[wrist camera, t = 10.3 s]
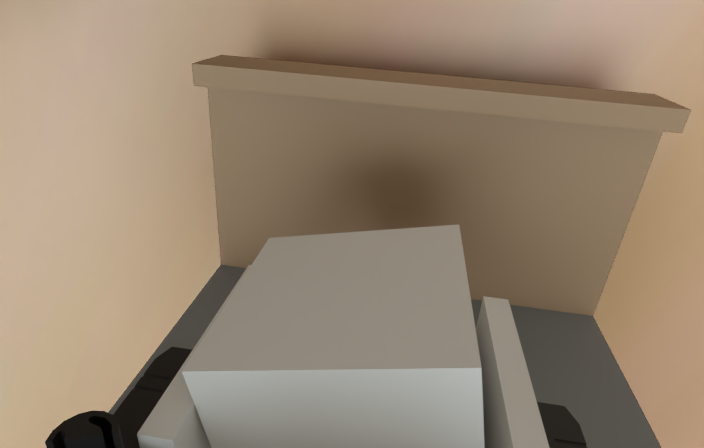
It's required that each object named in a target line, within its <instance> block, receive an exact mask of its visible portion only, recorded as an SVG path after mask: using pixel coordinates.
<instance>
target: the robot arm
mask: <svg viewBox="0 0 704 448" xmlns="http://www.w3.org/2000/svg"><path fill="white" fill-rule="evenodd" d="M250 266H251V265H248V267H247V268H246V270H245V271H244V273H243V274H242V276H241V277H240V279H239V280H238V282H237V283H236V285H235V287H234V288H233V290H232V291H231V293H230V294H229V296H228V297H227V299H226V300H225V302H224V303H223V305H222V306H221V308H220V309H219V311H218V312H217V314H216V315H215V317H214V318H213V320H212V321H211V323H210V324H209V326H208V327H207V329H206V330H205V332H204V333H203V335H202V336H201V338H200V339H199V341H198V342H197V344H196V345H195V347H194V348H193V350H191V349H185V348H178V347H171V348H169V349H168V350H166V351H165V352H164V353H162V354H161V355H159V356H158V357H157V358H155V359H154V361H153V362H152V363H151V365H150V366H149V367H148V369H147V370H146V371H145V373H144V376H143V377H141V378H140V379H139V381H138V382H137V383H136V385H135V388H134V389H132V390H131V391H130V393H129V394H128V395H127V397H126V398H125V399H124V401H123V402H122V403H121V405H120V406H119V407H118V409H117V410H116V411H115V413H114V414H113V415H112V414H109V413H107V412H105V411H89V412H85V413H81V414H78V415H76V416H74V417H72V418H70V419H68V420H66V421H64V422H63V423H62V424H60V425H59V426H58V427H57V428H56V429H54V430H53V431H52V433H51V434H50V436H49V437H48V439H47V440H46V442H45V443H46V446H47V448H212V447H211V445H210V442H209V440H208V437H207V435H206V432H205V430H204V427H203V425H202V422H201V419H200V417H199V414H198V412H197V409H196V407H195V404H194V402H193V399H192V397H191V394H190V392H189V389H188V386H187V384H186V381H185V379H184V376H183V374H182V370H183V369H184V367H185V366H186V364H187V363H188V361H189V360H190V358H191V357H192V355H193V354H194V352H195V350H196V349H197V347H198V346H199V344H200V343H201V341H202V340H203V338H204V337H205V335H206V334H207V332H208V331H209V329H210V328H211V326H212V325H213V323H214V321H215V320H216V318H217V317H218V315H219V314H220V312H221V311H222V309H223V308H224V306H225V305H226V303H227V302H228V300H229V299H230V297H231V296H232V294H233V292H234V291H235V289H236V288H237V286H238V285H239V283H240V282H241V280H242V279H243V277H244V276H245V274H246V273H247V271H248V270H249V268H250ZM476 335H477V342H478V348H479V354H480V361H481V367H482V391H483V417H484V443H485V448H587V447H586V441H585V438H584V435H583V433H582V430H581V427H580V424H579V423H578V422H577V421H576V419H575V418H574V417H573V416H572V414H571V413H570V412H569V411H568V409H567V408H566V407H565V406H561V405H554V404H548V403H542V402H537V401H536V397H535V394H534V390H533V387H532V383H531V379H530V376H529V372H528V369H527V365H526V361H525V358H524V354H523V351H522V347H521V343H520V340H519V336H518V333H517V329H516V326H515V322H514V318H513V315H512V311H511V308H510V304H509V300H508V299H501V298H493V297H486V296H483V300H482V304H481V308H480V313H479V317H478V321H477V326H476Z"/></svg>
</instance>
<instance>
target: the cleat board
mask: <svg viewBox="0 0 704 448" xmlns="http://www.w3.org/2000/svg"><path fill="white" fill-rule="evenodd" d="M192 71H193V82H194V86H203V87H208V98H209V112H210V125H211V138H212V151H213V165H214V178H215V191H216V204H217V218H218V231H219V244H220V257H221V266H220V267H219V268H218V269H217V271H216V272H215V273H214V275H213V276H212V277H211V279H210V280H209V281H208V283H207V284H206V285H205V287H204V288H203V289H202V290H201V292H200V293H199V294H198V296H197V297H196V298H195V300H194V301H193V302H192V304H191V305H190V306H189V308H188V309H187V310H186V311H185V313H184V314H183V315H182V317H181V318H180V319H179V321H178V322H177V323H176V325H175V326H174V327H173V329H172V330H171V331H170V332H169V334H168V335H167V336H166V338H165V339H164V340H163V342H162V343H161V344H160V346H159V347H158V348H157V350H156V351H155V352H154V353H153V355H152V356H151V357H150V359H149V360H148V361H147V363H146V364H145V365H144V367H143V368H142V369H141V370H140V372H139V373H138V374H137V376H136V377H135V378H134V380H133V381H132V382H131V384H130V385H129V386H128V388H127V389H126V390H125V391H124V393H123V394H122V395H121V397H120V398H119V399H118V401H117V402H116V403H115V405H114V406H113V407H112V409H111V410H110V411H109V412H108V413H109V414H112V415H113V414H114V413H115V411H116V410H117V409H118V407H119V406H120V405H121V403H122V402H123V401H124V399H125V398H126V397H127V395H128V394H129V393H130V391H131V390H132V389H134V388H135V385H136V383H137V382H138V381H139V379H140V378H141V377H143V376H144V373H145V371H146V370H147V369H148V367H149V366H150V365H151V363H152V362H153V361H154V359H155V358H157V357H158V356H159V355H161V354H162V353H164V352H165V351H166V350H168V349H169V348H171V347H178V348H185V349H191V350H193V348H194V347H195V345H196V344H197V342H198V341H199V339H200V338H201V336H202V335H203V333H204V332H205V330H206V329H207V327H208V326H209V324H210V323H211V321H212V320H213V318H214V317H215V315H216V314H217V312H218V311H219V309H220V308H221V306H222V305H223V303H224V302H225V300H226V299H227V297H228V296H229V294H230V293H231V291H232V290H233V288H234V287H235V285H236V283H237V282H238V280H239V279H240V277H241V276H242V274H243V273H244V271H245V270H246V268H247V267H248V265H252V263H253V262H254V260H255V259H256V257H257V256H258V254H259V253H260V251H261V250H262V248H263V247H264V245H265V244H266V242H267V241H268V239H269V238H275V237H289V236H303V235H317V234H331V233H346V232H360V231H374V230H388V229H402V228H416V227H431V226H445V225H459V226H460V232H461V239H462V245H463V252H464V258H465V265H466V271H467V277H468V284H469V290H470V297H471V303H472V309H473V316H474V322H475V329H476V326H477V321H478V317H479V313H480V308H481V304H482V300H483V296H486V297H493V298H501V299H508V300H509V304H510V308H511V311H512V315H513V318H514V322H515V326H516V329H517V333H518V336H519V340H520V343H521V347H522V351H523V354H524V358H525V361H526V365H527V369H528V372H529V376H530V379H531V383H532V387H533V390H534V394H535V397H536V401H537V402H542V403H548V404H554V405H561V406H565V407H566V408H567V409H568V411H569V412H570V413H571V414H572V416H573V417H574V418H575V419H576V421H577V422H578V423H579V424H580V427H581V430H582V433H583V435H584V438H585V441H586V447H587V448H661V446H660V444H659V442H658V440H657V438H656V436H655V434H654V432H653V431H652V429H651V427H650V425H649V423H648V421H647V419H646V417H645V415H644V413H643V411H642V409H641V408H640V406H639V404H638V402H637V400H636V398H635V396H634V394H633V392H632V390H631V388H630V386H629V384H628V383H627V381H626V379H625V377H624V375H623V373H622V371H621V369H620V367H619V365H618V363H617V361H616V360H615V358H614V356H613V354H612V352H611V350H610V348H609V346H608V344H607V342H606V340H605V338H604V336H603V335H602V333H601V331H600V329H599V327H598V325H597V323H596V321H595V319H594V317H593V314H594V311H595V309H596V306H597V304H598V301H599V298H600V296H601V293H602V290H603V288H604V285H605V282H606V280H607V277H608V275H609V272H610V269H611V267H612V264H613V261H614V259H615V256H616V254H617V251H618V248H619V246H620V243H621V240H622V238H623V235H624V233H625V230H626V227H627V225H628V222H629V219H630V217H631V214H632V212H633V209H634V206H635V204H636V201H637V198H638V196H639V193H640V191H641V188H642V185H643V183H644V180H645V177H646V175H647V172H648V170H649V167H650V164H651V162H652V159H653V156H654V154H655V151H656V149H657V146H658V143H659V141H660V138H661V135H662V133H663V132H674V133H682V132H683V129H684V127H685V124H686V122H687V119H688V117H689V114H690V112H691V110H690V109H688V108H685V107H683V106H681V105H678V104H676V103H674V102H671V101H669V100H667V99H664V98H662V97H660V96H657V95H655V94H647V93H636V92H625V91H614V90H603V89H592V88H581V87H570V86H559V85H548V84H536V83H525V82H514V81H503V80H492V79H481V78H470V77H459V76H448V75H437V74H426V73H415V72H404V71H393V70H382V69H371V68H359V67H348V66H337V65H326V64H315V63H304V62H293V61H282V60H271V59H260V58H249V57H238V56H227V55H220V56H216V57H213V58H210V59H206V60H203V61H199V62H196V63H192Z"/></svg>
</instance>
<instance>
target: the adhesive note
mask: <svg viewBox="0 0 704 448" xmlns="http://www.w3.org/2000/svg"><path fill="white" fill-rule="evenodd" d="M182 374H183V376H184V379H185V381H186V384H187V386H188V389H189V392H190V394H191V397H192V399H193V402H194V404H195V407H196V409H197V412H198V414H199V417H200V419H201V422H202V425H203V427H204V430H205V432H206V435H207V437H208V440H209V442H210V445H211V447H212V448H485V443H484V417H483V391H482V367H481V361H480V354H479V348H478V342H477V335H476V329H475V322H474V316H473V309H472V303H471V297H470V290H469V284H468V277H467V271H466V265H465V258H464V252H463V245H462V239H461V232H460V226H459V225H445V226H431V227H416V228H402V229H388V230H374V231H360V232H346V233H331V234H317V235H303V236H289V237H275V238H269V239H268V241H267V242H266V244H265V245H264V247H263V248H262V250H261V251H260V253H259V254H258V256H257V257H256V259H255V260H254V262H253V263H252V265H251V266H250V268H249V270H248V271H247V273H246V274H245V276H244V277H243V279H242V280H241V282H240V283H239V285H238V286H237V288H236V289H235V291H234V292H233V294H232V296H231V297H230V299H229V300H228V302H227V303H226V305H225V306H224V308H223V309H222V311H221V312H220V314H219V315H218V317H217V318H216V320H215V321H214V323H213V325H212V326H211V328H210V329H209V331H208V332H207V334H206V335H205V337H204V338H203V340H202V341H201V343H200V344H199V346H198V347H197V349H196V350H195V352H194V354H193V355H192V357H191V358H190V360H189V361H188V363H187V364H186V366H185V367H184V369H183V370H182Z"/></svg>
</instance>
